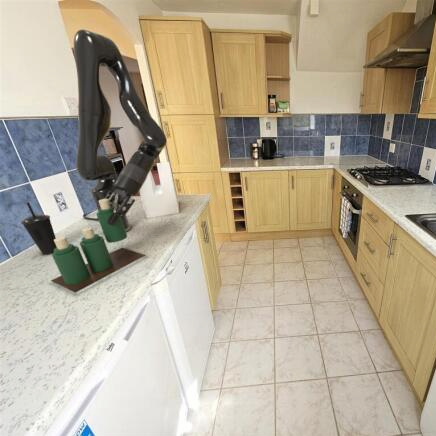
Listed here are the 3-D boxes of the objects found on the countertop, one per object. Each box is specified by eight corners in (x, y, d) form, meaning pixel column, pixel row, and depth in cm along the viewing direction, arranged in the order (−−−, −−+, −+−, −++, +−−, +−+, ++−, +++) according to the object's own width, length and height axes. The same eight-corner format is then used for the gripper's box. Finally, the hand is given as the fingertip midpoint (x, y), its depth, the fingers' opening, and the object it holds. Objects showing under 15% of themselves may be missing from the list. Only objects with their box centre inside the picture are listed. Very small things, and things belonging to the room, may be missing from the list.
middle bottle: (86, 269, 80) (70, 231, 74) (106, 260, 85) (92, 223, 79) (97, 273, 78) (81, 234, 72) (116, 264, 82) (102, 226, 77)
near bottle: (61, 281, 74) (41, 241, 69) (83, 271, 79) (66, 232, 73) (71, 286, 72) (52, 245, 66) (94, 275, 77) (77, 236, 71)
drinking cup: (68, 247, 96) (47, 200, 88) (45, 258, 89) (19, 207, 81) (56, 245, 98) (34, 198, 90) (32, 254, 91) (6, 205, 83)
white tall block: (179, 212, 128) (168, 165, 118) (146, 218, 122) (132, 168, 112) (178, 202, 144) (169, 159, 134) (149, 206, 138) (137, 162, 129)
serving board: (51, 283, 75) (50, 280, 75) (122, 249, 93) (121, 247, 93) (76, 295, 70) (75, 292, 69) (146, 257, 88) (146, 255, 87)
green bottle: (102, 240, 83) (87, 201, 77) (120, 233, 88) (107, 196, 82) (113, 244, 80) (98, 204, 75) (131, 236, 85) (118, 198, 80)
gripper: (110, 171, 85) (83, 214, 81) (132, 175, 78) (103, 222, 73) (130, 182, 91) (106, 222, 87) (152, 187, 84) (127, 231, 80)
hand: (105, 222), depth 80 cm, fingers closed on green bottle, 6 cm apart
